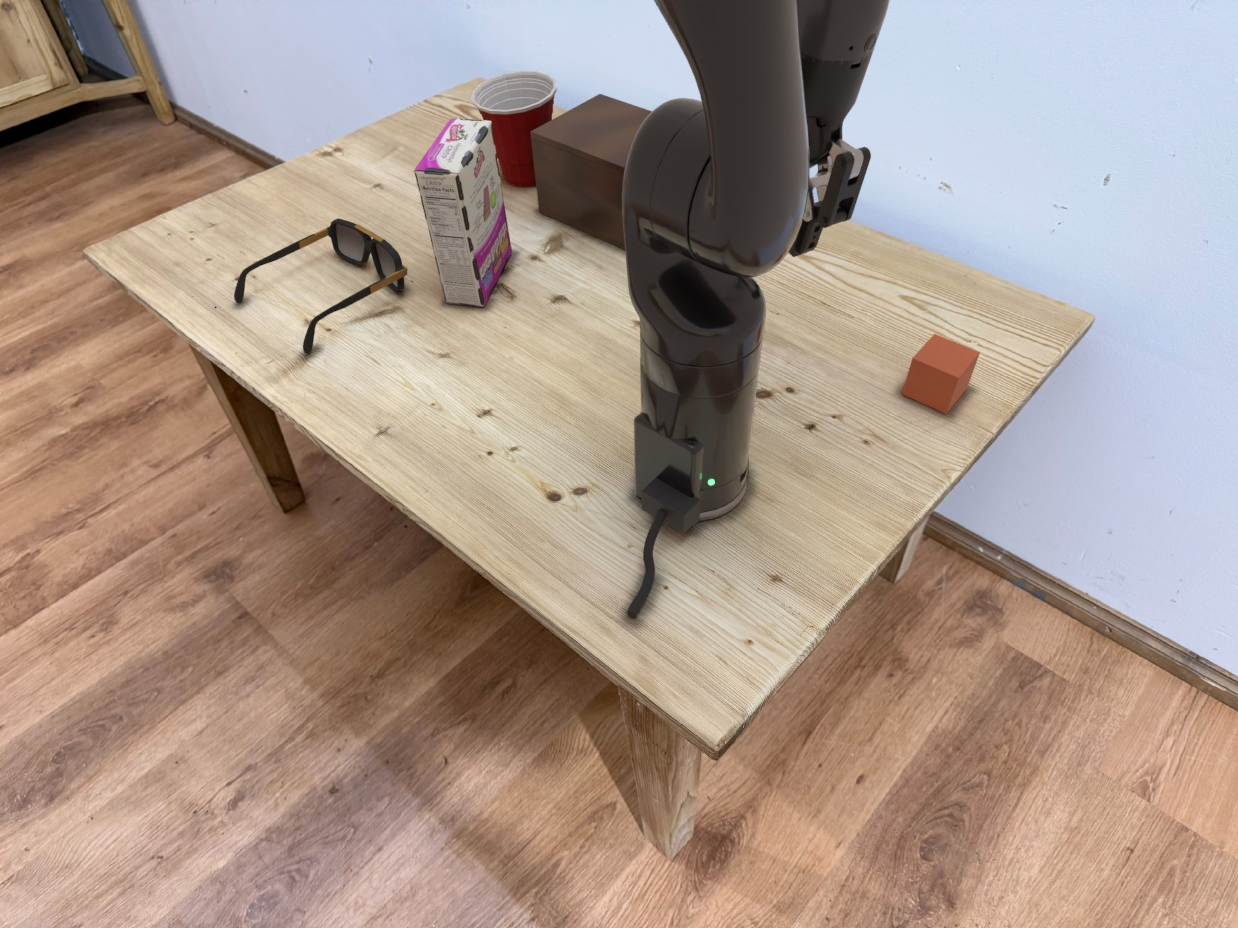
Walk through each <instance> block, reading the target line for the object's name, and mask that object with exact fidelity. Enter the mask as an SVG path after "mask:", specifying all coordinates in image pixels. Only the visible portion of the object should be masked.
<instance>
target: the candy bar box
mask: <svg viewBox="0 0 1238 928" xmlns="http://www.w3.org/2000/svg"><path fill="white" fill-rule="evenodd" d="M413 172H414V177H415V180H416V181H415V182H416V185H417V189H418V193H419V197H420V201H421V207H422V209H423V214H424V218H425V222H426V226H427V231H428V233H429V237H430V241H431V247H432V251H433V255H434V260H435V263H436V268H437V272H438V276H439V280H440V284H441V288H442V293H443V298H444V301H445V303H446V304H450V305H454V306H455V305H457V306H471V307H478V308H479V307H480V308H485V306H486V305H487V302H488V300H490V299H489V298H490V297H491V295H492V293H493V290H494V289H495V287H496V285H497V282H498V280H499V279H500V276H501V274H502V273H503V271H504V269H505V267H506V265H507V263H508V260H509V259H510V258H511V255H512V253H513V250H512V243H511V239H510V237H511V236H510V232H509V225H508V220H507V214H506V207H505V200H504V195H503V189H502V181H501V180H502V179H501V176H500V175H501V174H500V169H499V161H498V158H497V156H496V149H495V142H494V137H493V130H492V122H491V121H487V120H483V119H471V118H466V119H463V118H461V117H454V118H449V119H448V121H447V122H446V124H445V125H444V127H443V128H442V130H441V131H440V133H438V136H437V137H436V138H435V139H434V141H433V142H432V144H431V145H430V147H429V148H428V149H427V151H426V152H425V153H424V155H423V156H422V158H421V159H420V161H419V162H418V163H417V165H416V166H415V167H414V169H413Z"/></svg>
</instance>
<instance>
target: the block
mask: <svg viewBox="0 0 1238 928" xmlns="http://www.w3.org/2000/svg"><path fill="white" fill-rule="evenodd" d="M980 354H981V353H980V351H978V350H975V349H973V348H970V347H968V346H966V345H963V344H960V343H958V342H956V341H954V340H951V339H948V338H946V337H943V336H942V335H938V334H936V333H933V334H932V336H931V337H930V338H929V339H928V340H927V341H926V342H925V343H924V344H923V346H922V347H921V348H920V349H919V350H918V351H917V352H916V354H915V355H913V356H912V358H911V362H910V364H909V368H908V372H907V375H906V379H905V382H904V385H903V389H902V393H901V394H902V395H903V396H905V397H907V398H909V399H911V400H914V401H915V402H919V403H921V404H923V405H925V406H927V407H928V408H929V407H930V408H932V409H934V410H936V411H938V412H940V413H943V414H945V415H946V414H948V412H949V411H950V410H951V409H952V408H953V407H954V405H955V404H956V403H957V402H958V400H959V399H960V398H961V397H962V395H963V394H964V393H965V392H966V390H968V386H969V384H970V381H971V378H972V377H973V376H972V375H973V374H974V370H975V367H976V365H977V362H978V359H979V357H980Z"/></svg>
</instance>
